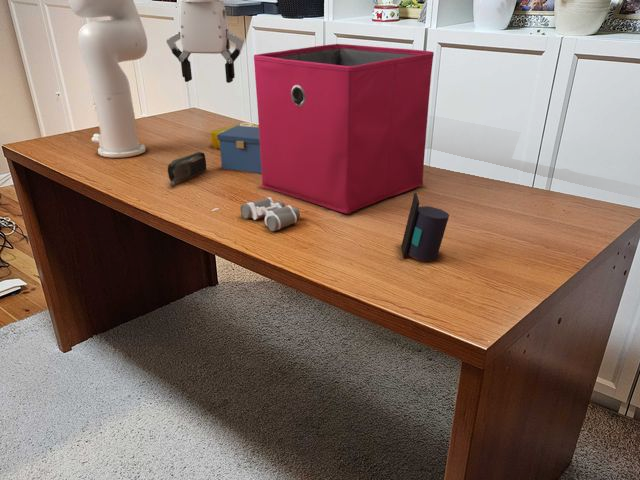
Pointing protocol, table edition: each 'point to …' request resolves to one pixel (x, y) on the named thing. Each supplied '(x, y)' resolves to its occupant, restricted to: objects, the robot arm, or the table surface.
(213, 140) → the element tile
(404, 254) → the speaker
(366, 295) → the table surface
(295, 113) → the storage bin
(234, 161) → the blue box
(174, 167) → the mobile phone
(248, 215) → the binoculars
